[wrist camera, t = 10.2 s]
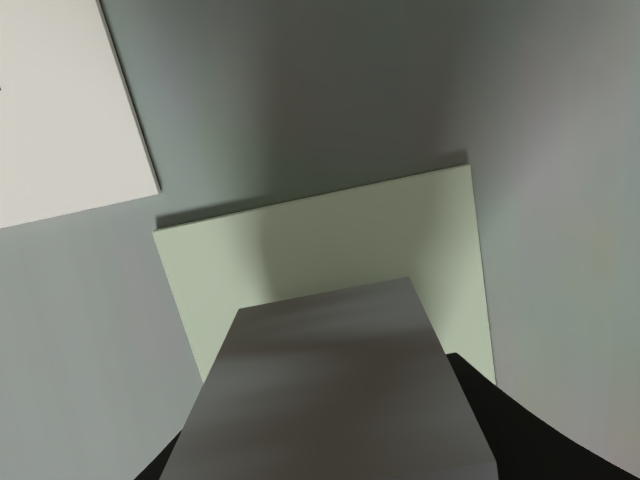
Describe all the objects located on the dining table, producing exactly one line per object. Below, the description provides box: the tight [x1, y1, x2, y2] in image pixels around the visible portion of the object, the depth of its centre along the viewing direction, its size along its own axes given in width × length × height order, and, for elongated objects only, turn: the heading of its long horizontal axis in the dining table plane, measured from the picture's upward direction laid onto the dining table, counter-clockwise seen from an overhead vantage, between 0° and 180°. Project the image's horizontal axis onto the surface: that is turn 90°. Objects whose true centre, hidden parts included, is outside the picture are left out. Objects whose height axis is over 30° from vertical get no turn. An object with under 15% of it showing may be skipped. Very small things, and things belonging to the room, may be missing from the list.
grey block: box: [159, 276, 498, 480], centre depth 9 cm, size 4×4×6 cm
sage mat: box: [152, 164, 496, 385], centre depth 13 cm, size 9×9×1 cm
